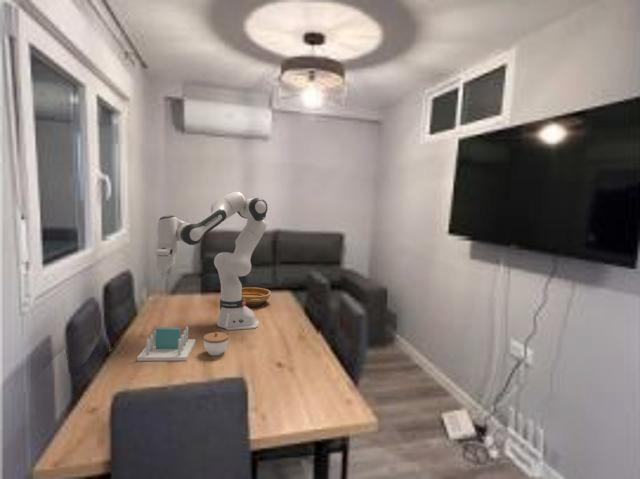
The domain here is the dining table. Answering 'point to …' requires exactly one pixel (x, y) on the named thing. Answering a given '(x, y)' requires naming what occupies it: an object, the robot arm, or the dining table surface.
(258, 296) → the brown woven oval bowl
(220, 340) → the lidded jar
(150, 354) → the dish rack
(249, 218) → the robot arm
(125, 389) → the dining table surface
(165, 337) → the teal tile
